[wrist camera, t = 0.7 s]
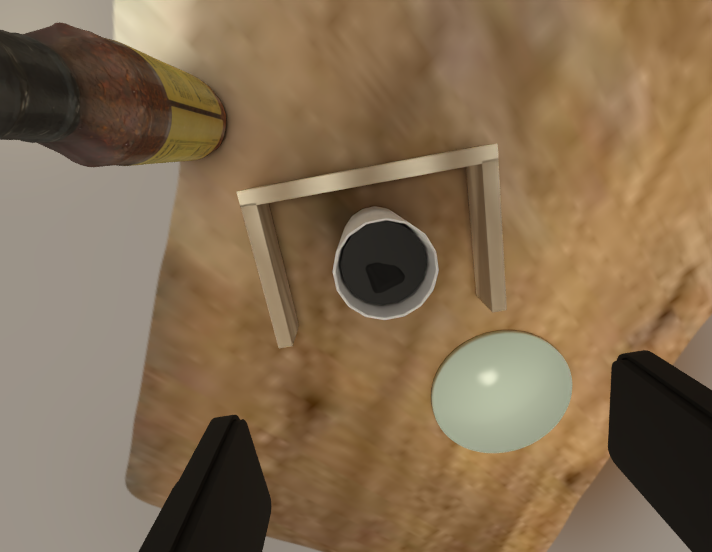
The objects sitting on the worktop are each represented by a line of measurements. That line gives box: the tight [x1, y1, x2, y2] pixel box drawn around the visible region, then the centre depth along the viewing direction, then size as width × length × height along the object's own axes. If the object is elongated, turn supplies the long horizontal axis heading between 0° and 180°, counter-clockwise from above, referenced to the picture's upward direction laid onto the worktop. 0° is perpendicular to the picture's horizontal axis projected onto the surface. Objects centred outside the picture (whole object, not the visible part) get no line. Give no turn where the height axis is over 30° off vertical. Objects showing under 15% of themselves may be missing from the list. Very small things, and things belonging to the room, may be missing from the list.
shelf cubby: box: [237, 144, 507, 348], centre depth 30 cm, size 19×13×4 cm
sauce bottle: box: [0, 23, 226, 167], centre depth 20 cm, size 6×6×20 cm
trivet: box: [431, 330, 572, 453], centre depth 37 cm, size 14×14×1 cm
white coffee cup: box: [333, 206, 439, 320], centre depth 27 cm, size 7×7×10 cm
